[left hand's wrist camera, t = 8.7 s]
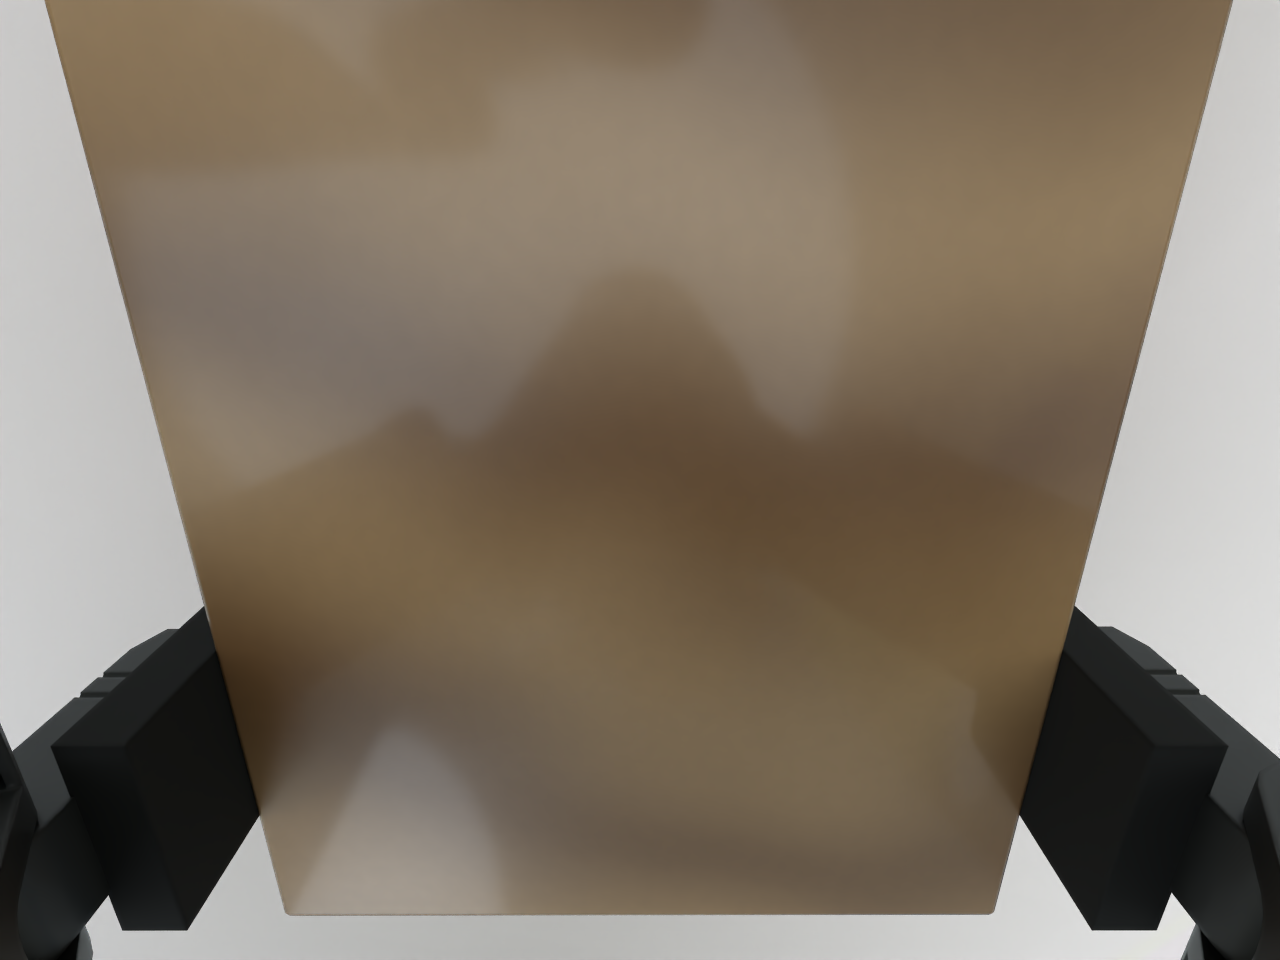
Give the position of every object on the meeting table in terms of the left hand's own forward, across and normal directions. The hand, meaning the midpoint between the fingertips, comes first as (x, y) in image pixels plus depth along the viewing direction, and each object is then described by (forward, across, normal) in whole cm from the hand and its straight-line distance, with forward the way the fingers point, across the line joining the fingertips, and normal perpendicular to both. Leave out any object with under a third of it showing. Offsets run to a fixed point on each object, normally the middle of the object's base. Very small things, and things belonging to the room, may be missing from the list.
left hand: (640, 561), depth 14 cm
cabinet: (+3, 0, -5) cm, 6 cm away
